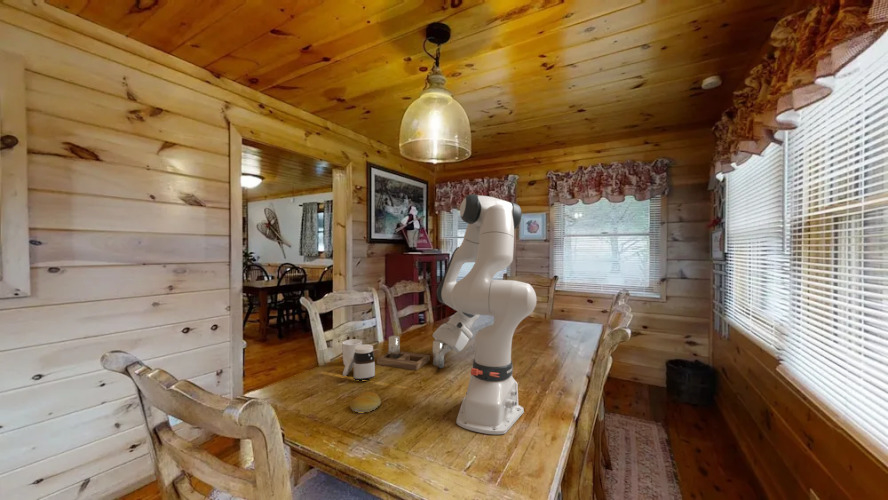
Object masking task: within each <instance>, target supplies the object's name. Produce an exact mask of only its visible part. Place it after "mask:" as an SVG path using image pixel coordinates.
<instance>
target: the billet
mask: <svg viewBox="0 0 888 500" xmlns="http://www.w3.org/2000/svg"><path fill="white" fill-rule="evenodd" d="M444 348H445V345H444V342H443V341H441V340H436V339H434V340H433V341H432V349H433V350H432V365H433V366H435V367H437V369H442V368H444V367H445V355H444V356H441V355H440V354H439V352H440V350H443V349H444Z"/></svg>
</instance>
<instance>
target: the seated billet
mask: <svg viewBox="0 0 888 500" xmlns="http://www.w3.org/2000/svg"><path fill="white" fill-rule="evenodd" d="M400 339H401V338H400V336H399V335H390V336H388V352H389V358H393V359H398V358H400V351H401V348H400V342H401V341H400Z"/></svg>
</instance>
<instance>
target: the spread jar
mask: <svg viewBox="0 0 888 500" xmlns="http://www.w3.org/2000/svg"><path fill="white" fill-rule="evenodd" d="M354 351H355V353H354V355H353V359H352V358H350V359H349V360H348V362H347V364H346V366H345V365H344V368H343V372H342V376H343V377H344V376H347V375H348V376H349V373H350V372H351V371H352V370H353V371H352V372H353V373H352V374H353V377H352V378H353V380H354V379H355V380H354V381H356V380H359V381H362V380H369V379H372V378H375V375H376V370H375V369H376V367H375V366H376V363H375V361H376V358H375V353H374V345H372V344H362V345H358V346H356V347H355V348H354ZM359 381H358V382H359ZM369 381H370V380H369Z"/></svg>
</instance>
